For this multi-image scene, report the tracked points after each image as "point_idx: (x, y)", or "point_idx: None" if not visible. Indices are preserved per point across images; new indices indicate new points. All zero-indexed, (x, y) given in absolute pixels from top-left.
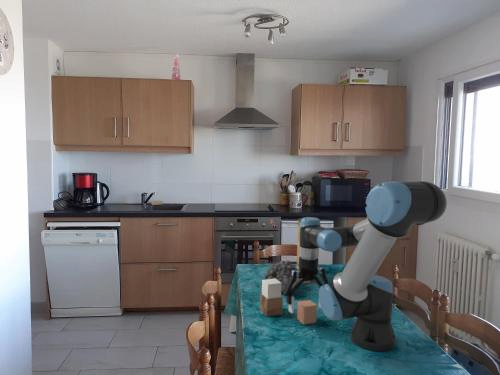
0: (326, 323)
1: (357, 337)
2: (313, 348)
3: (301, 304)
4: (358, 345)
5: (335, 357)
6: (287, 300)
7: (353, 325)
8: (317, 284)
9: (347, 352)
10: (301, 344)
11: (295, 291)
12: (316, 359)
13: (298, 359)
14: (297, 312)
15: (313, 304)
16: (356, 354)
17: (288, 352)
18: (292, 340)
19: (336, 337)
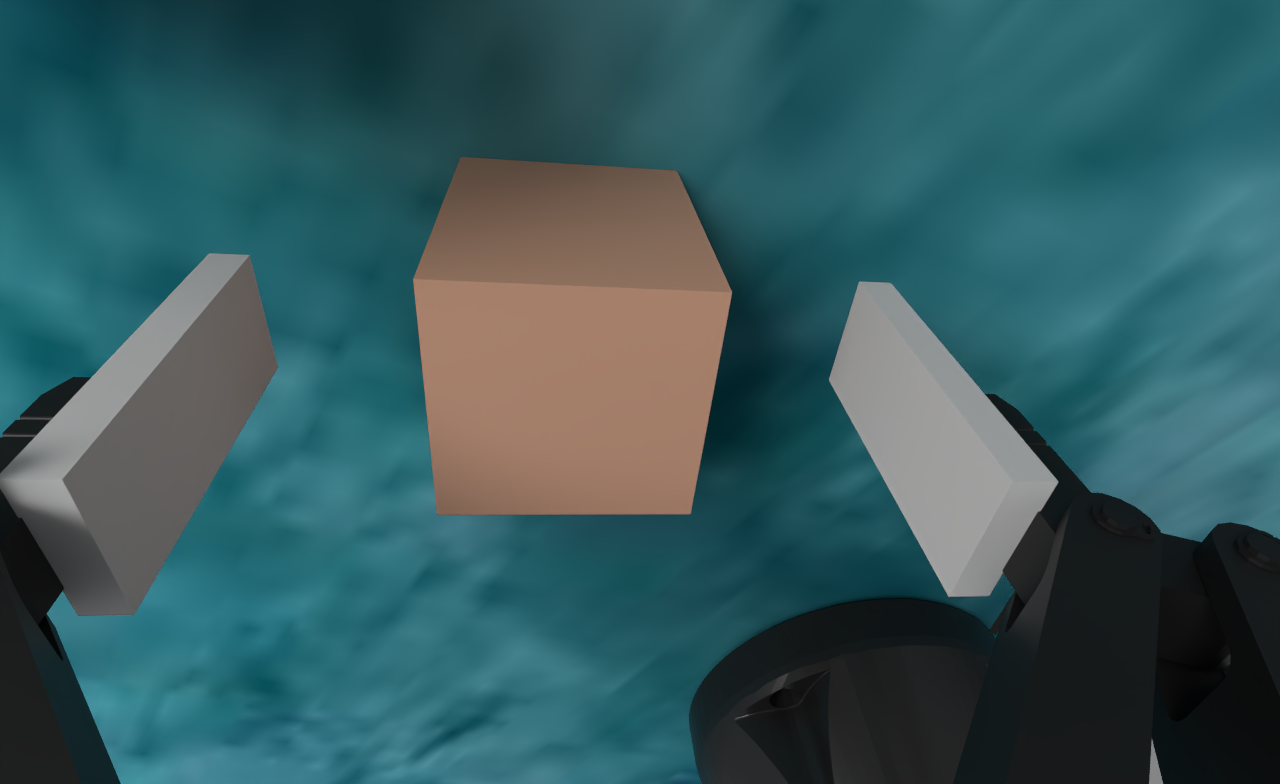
0: (748, 406)
1: (703, 774)
2: (347, 688)
3: (431, 421)
4: (690, 731)
5: (450, 771)
6: (20, 442)
7: (769, 767)
8: (1016, 692)
9: (565, 751)
10: (264, 635)
11: (101, 743)
12: (307, 768)
13: (170, 753)
14: (447, 197)
15: (655, 476)
16: (604, 769)
17: (106, 691)
18: (194, 575)
19: (633, 619)
